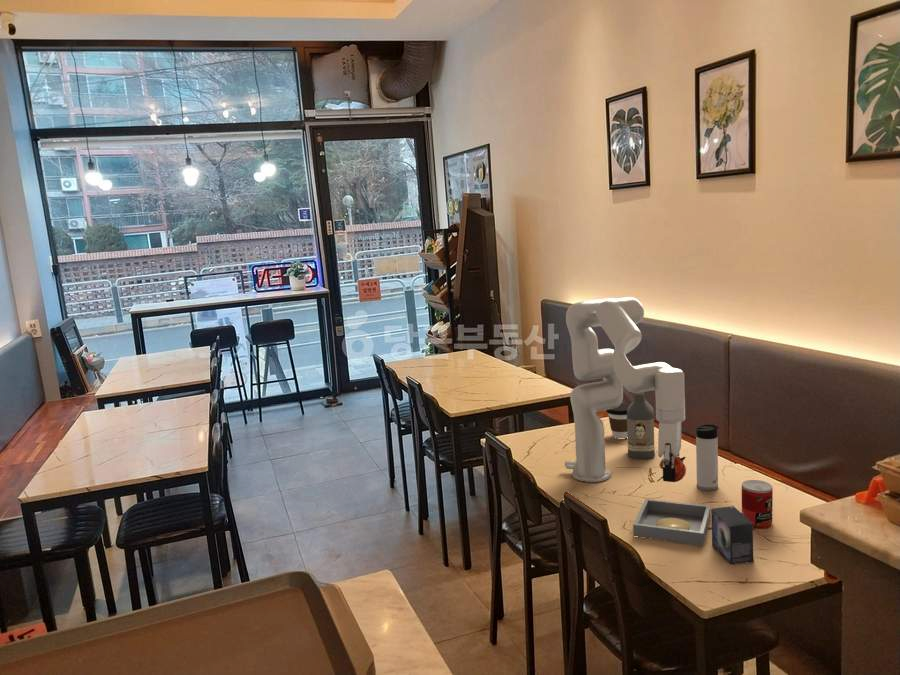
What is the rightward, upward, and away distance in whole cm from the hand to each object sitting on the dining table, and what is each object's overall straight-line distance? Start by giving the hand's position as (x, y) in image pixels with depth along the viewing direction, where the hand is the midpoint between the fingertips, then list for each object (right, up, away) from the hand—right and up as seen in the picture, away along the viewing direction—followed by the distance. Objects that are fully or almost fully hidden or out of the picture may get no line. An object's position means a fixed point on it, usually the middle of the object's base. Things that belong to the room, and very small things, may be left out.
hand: (671, 475), depth 191 cm
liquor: (+8, -5, +59) cm, 60 cm away
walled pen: (+1, -15, +3) cm, 15 cm away
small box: (+11, -17, -14) cm, 25 cm away
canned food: (+24, -14, +1) cm, 27 cm away
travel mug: (+20, -9, +27) cm, 35 cm away
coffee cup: (+6, -1, +80) cm, 80 cm away
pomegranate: (0, -2, 0) cm, 2 cm away
